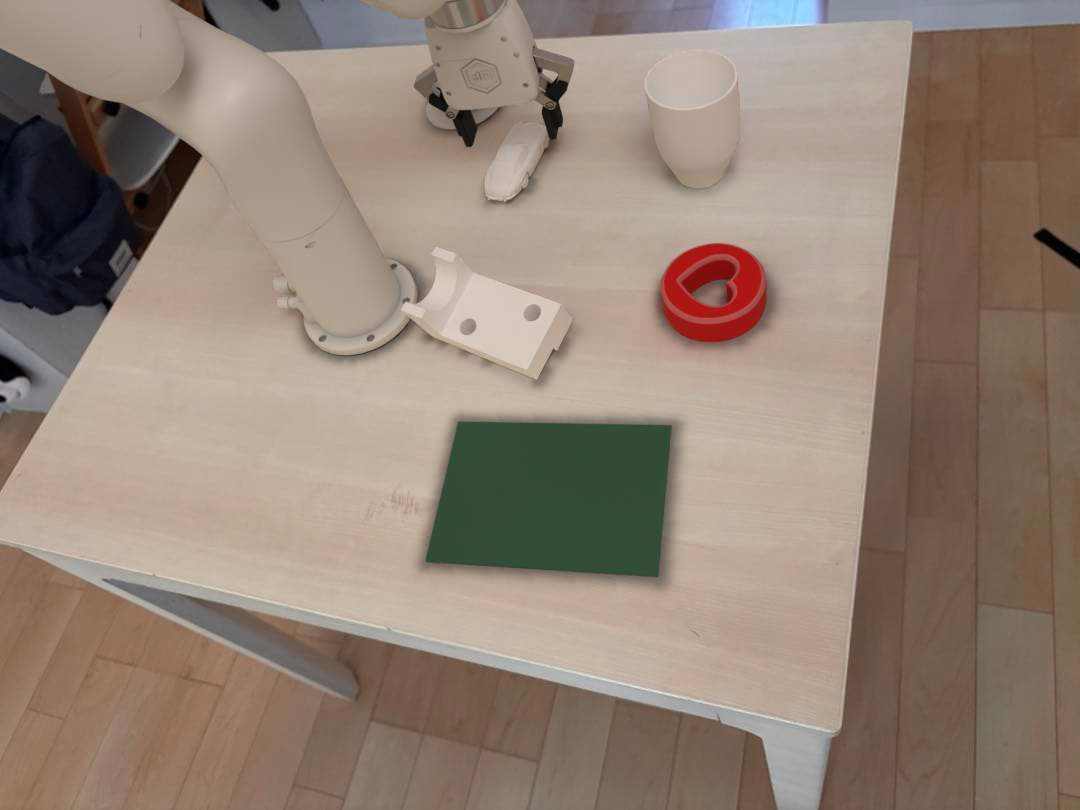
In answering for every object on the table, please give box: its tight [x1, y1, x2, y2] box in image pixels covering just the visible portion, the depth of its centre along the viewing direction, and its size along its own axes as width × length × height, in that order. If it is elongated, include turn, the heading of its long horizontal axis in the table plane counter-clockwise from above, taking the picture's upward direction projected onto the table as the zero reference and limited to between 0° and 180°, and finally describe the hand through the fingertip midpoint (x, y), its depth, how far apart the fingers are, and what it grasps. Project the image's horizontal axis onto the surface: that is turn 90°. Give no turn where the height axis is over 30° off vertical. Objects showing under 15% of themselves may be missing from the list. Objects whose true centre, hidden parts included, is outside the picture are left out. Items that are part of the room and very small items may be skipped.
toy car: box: [483, 120, 550, 203], centre depth 98 cm, size 5×12×4 cm, turn 158°
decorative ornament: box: [659, 242, 767, 343], centre depth 81 cm, size 10×10×3 cm
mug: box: [643, 48, 741, 190], centre depth 88 cm, size 12×9×12 cm
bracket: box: [401, 246, 574, 381], centre depth 83 cm, size 13×7×8 cm, turn 57°
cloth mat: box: [425, 421, 672, 578], centre depth 75 cm, size 20×14×1 cm
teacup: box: [425, 81, 499, 130], centre depth 106 cm, size 10×10×5 cm
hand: (513, 134), depth 96 cm, fingers open, 9 cm apart
